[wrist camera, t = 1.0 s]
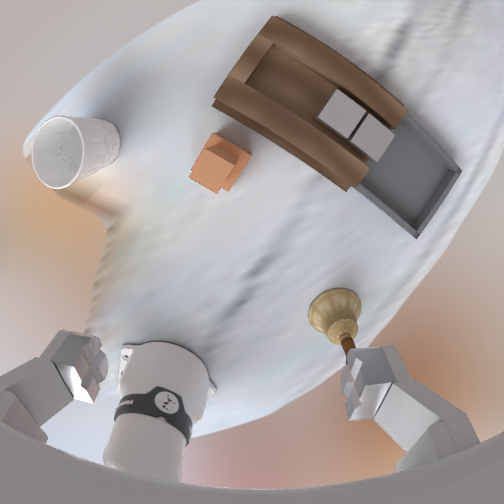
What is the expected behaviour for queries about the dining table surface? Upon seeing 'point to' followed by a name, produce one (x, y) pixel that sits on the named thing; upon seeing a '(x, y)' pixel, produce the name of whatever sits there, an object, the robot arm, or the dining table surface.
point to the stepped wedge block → (219, 164)
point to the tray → (410, 177)
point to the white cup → (73, 149)
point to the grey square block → (370, 138)
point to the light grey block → (339, 114)
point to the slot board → (303, 98)
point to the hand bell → (336, 316)
